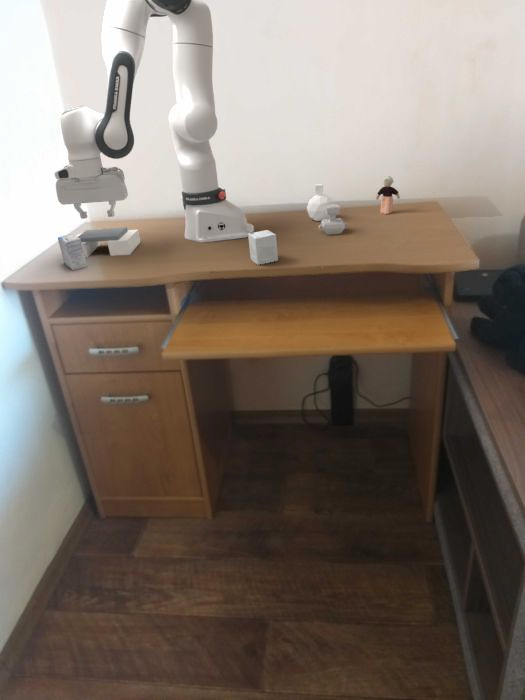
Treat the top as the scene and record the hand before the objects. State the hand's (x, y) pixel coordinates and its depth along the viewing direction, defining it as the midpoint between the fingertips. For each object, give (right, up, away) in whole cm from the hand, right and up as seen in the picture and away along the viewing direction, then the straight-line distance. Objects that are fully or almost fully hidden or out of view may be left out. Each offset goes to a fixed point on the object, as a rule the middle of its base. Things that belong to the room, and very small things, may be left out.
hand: (97, 217), depth 157 cm
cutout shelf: (+1, -10, +5) cm, 11 cm away
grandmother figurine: (+91, +5, +18) cm, 93 cm away
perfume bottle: (+69, +3, +17) cm, 71 cm away
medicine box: (-4, -16, -5) cm, 17 cm away
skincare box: (+50, -16, -14) cm, 54 cm away
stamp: (+71, -4, +4) cm, 71 cm away
